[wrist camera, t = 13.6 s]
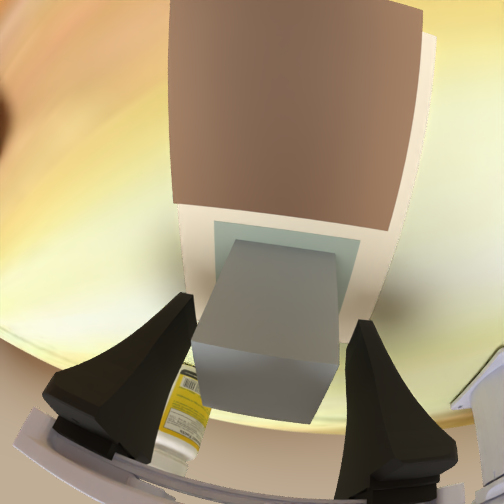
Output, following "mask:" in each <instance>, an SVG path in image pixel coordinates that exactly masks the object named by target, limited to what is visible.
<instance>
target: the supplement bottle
mask: <svg viewBox="0 0 504 504" xmlns="http://www.w3.org/2000/svg"><path fill="white" fill-rule="evenodd" d="M210 411H211V408H209V407H205V406H203V405H202V400H201V395H200V390H199V385H198V379H197V374H196V368H195V367H192V366H189V365H185V364H182V366H181V368H180V370H179V372H178V375H177V377H176V379H175V381H174V383H173V386H172V388H171V391H170V393H169V396H168V399H167V403H166V406H165V409H164V412H163V416H162V419H161V422H160V426H159V430H158V434H157V438H156V442H155V446H154V451H153V455H152V460H151V463H149V464H147V465H149V466H151V467H154V468H157V469H160V470H163V471H166V472H169V473H172V474H176V475H179V476H182V477H185V474H186V472H187V467H188V464H187V463H186V461H191V460H193V459H194V458H195V457H196V456H197V454H198V451H199V448H200V444H201V441H202V438H203V435H204V431H205V428H206V425H207V421H208V418H209V415H210Z"/></svg>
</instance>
